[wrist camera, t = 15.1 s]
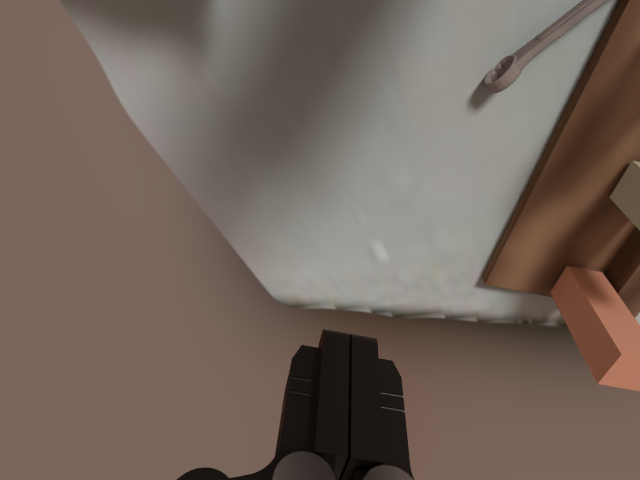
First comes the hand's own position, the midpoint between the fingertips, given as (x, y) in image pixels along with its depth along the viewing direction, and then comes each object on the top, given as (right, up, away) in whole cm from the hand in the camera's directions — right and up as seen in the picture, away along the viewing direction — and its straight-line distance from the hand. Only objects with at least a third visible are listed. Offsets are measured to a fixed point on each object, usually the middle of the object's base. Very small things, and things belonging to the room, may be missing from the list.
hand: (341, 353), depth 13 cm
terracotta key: (+24, -1, +32) cm, 40 cm away
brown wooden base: (+25, +9, +27) cm, 38 cm away
